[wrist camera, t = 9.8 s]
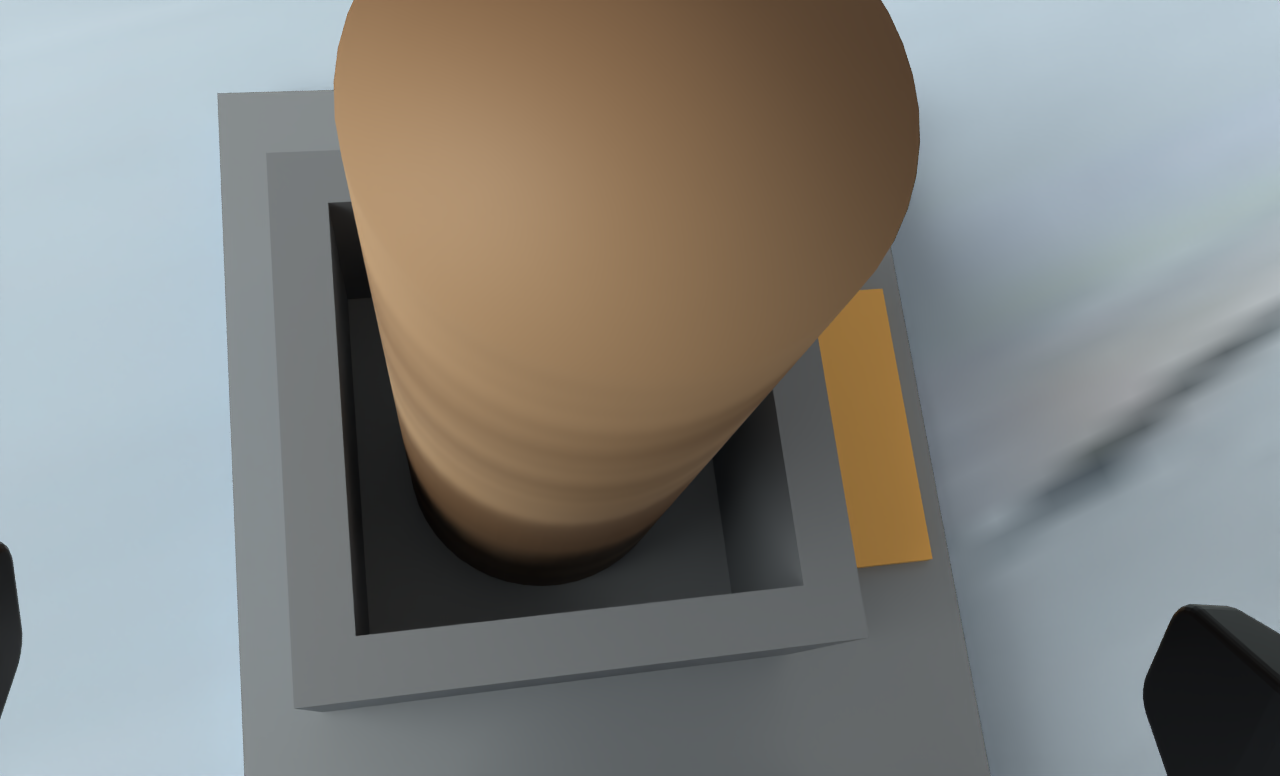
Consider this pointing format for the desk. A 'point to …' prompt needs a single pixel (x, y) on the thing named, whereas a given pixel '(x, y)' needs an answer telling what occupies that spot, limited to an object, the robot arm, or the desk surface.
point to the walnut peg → (607, 241)
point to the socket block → (588, 608)
